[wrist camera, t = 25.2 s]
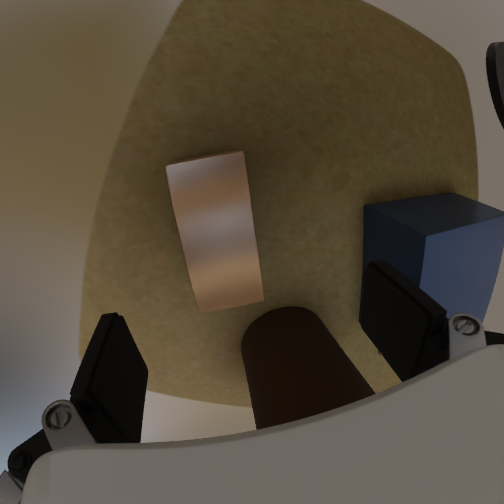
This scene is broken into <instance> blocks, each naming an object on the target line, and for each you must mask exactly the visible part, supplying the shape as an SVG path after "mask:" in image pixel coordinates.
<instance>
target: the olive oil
mask: <svg viewBox="0 0 504 504" xmlns="http://www.w3.org/2000/svg"><path fill="white" fill-rule="evenodd" d="M241 350H242V357H243V362H244V367H245V372H246V377H247V381H248V386H249V392H250V397H251V402H252V408H253V413H254V418H255V424H256V429H257V430H258V429H263V428H268V427H272V426H276V425H281V424H285V423H289V422H293V421H296V420H300V419H304V418H307V417H311V416H314V415H317V414H321V413H324V412H327V411H330V410H333V409H336V408H339V407H342V406H345V405H348V404H351V403H353V402H356V401H359V400H362V399H364V398H367V397H369V396H372V395H374V394H376V393H375V392H374V391H373V389H372V388H371V387H370V385H369V384H368V383H367V381H366V380H365V379H364V378H363V376H362V375H361V374H360V372H359V371H358V370H357V368H356V367H355V366H354V364H353V363H352V362H351V360H350V359H349V358H348V356H347V355H346V354H345V352H344V351H343V350H342V348H341V347H340V346H339V344H338V343H337V342H336V340H335V339H334V337H333V336H332V335H331V333H330V332H329V331H328V329H327V328H326V326H325V325H324V324H323V322H322V321H321V320H320V318H319V317H318V316H317V315H316V314H314V313H313V312H311V311H309V310H307V309H303V308H298V307H288V308H282V309H278V310H275V311H272V312H270V313H268V314H266V315H264V316H262V317H261V318H259V319H258V320H257V321H255V322H254V323H253V324H252V325H251V326H250V328H249V329H248V330H247V332H246V333H245V335H244V338H243V340H242V347H241Z"/></svg>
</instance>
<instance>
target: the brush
mask: <svg viewBox="0 0 504 504" xmlns="http://www.w3.org/2000/svg"><path fill="white" fill-rule="evenodd" d="M165 170H166V175H167V180H168V185H169V190H170V195H171V200H172V204H173V209H174V214H175V218H176V223H177V227H178V231H179V236H180V240H181V244H182V248H183V252H184V256H185V260H186V264H187V268H188V272H189V276H190V280H191V284H192V287H193V291H194V295H195V298H196V302H197V306H198V309H199V313H200V314H203V313H208V312H213V311H219V310H223V309H228V308H233V307H238V306H243V305H247V304H252V303H257V302H261V301H265V299H264V292H263V284H262V277H261V270H260V262H259V255H258V248H257V241H256V234H255V226H254V219H253V212H252V205H251V198H250V191H249V184H248V177H247V170H246V163H245V156H244V151H240V150H233V151H227V152H221V153H215V154H209V155H204V156H199V157H193V158H188V159H183V160H179V161H174V162H170V163H168V164H167V165H165Z"/></svg>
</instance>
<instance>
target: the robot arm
mask: <svg viewBox="0 0 504 504" xmlns="http://www.w3.org/2000/svg"><path fill="white" fill-rule="evenodd" d="M446 314H447V310H445V309H444V308H443V307H442V306H441V305H440V304H438V303H437V302H436V301H435V300H434V299H433V298H431V297H430V296H429V295H428V294H427V293H425V292H424V291H423V290H422V289H420V288H419V287H418V286H417V285H416V284H414V283H413V282H412V281H411V280H409V279H408V278H407V277H406V276H404V275H403V274H402V273H401V272H399V271H398V270H397V269H395V268H394V267H393V266H392V265H390V264H389V263H388V262H386V261H385V260H384V259H378V260H374V261H370V262H369V263H368V265H367V266H366V267H365V269H364V282H363V296H362V307H361V317H360V324H361V327H362V329H363V331H364V332H365V333H366V334H367V336H368V337H369V338H370V340H371V341H372V342H373V344H374V345H375V346H376V348H377V349H378V350H379V352H380V353H381V354H382V355H383V357H384V358H385V359H386V361H387V362H388V364H389V365H390V366H391V368H392V369H393V370H394V372H395V373H396V374H397V376H398V377H399V378H400V380H401V381H402V383H400V384H398V385H396V386H393V387H391V388H389V389H386V390H384V391H382V392H379V393H377V394H374V395H372V396H369V397H367V398H364V399H362V400H359V401H356V402H353V403H351V404H348V405H345V406H342V407H339V408H336V409H333V410H330V411H327V412H324V413H321V414H317V415H314V416H311V417H307V418H304V419H300V420H296V421H293V422H289V423H285V424H281V425H276V426H272V427H268V428H263V429H258V430H253V431H248V432H243V433H238V434H231V435H225V436H218V437H211V438H203V439H194V440H184V441H170V442H153V443H140V441H141V430H142V420H143V411H144V402H145V394H146V387H147V380H148V369H147V366H146V364H145V362H144V360H143V358H142V356H141V354H140V352H139V350H138V348H137V346H136V344H135V341H134V339H133V337H132V335H131V333H130V331H129V329H128V326H127V324H126V322H125V320H124V318H123V316H121V315H120V316H119V315H118V313H116V312H115V313H108V314H103V315H102V316H101V318H100V320H99V322H98V324H97V327H96V329H95V331H94V333H93V336H92V338H91V340H90V343H89V345H88V347H87V350H86V352H85V355H84V357H83V360H82V362H81V365H80V367H79V370H78V372H77V375H76V378H75V381H74V383H73V386H72V389H71V392H70V395H71V398H70V401H68V400H63V399H62V400H57V401H55V402H53V403H51V404H50V405H49V406H48V407H47V408H46V409H45V411H44V412H43V415H42V426H43V429H42V430H40V431H39V432H38V433H36V434H35V435H33V436H32V437H31V438H29V439H28V440H27V441H25V442H24V443H22V444H21V445H19V446H18V447H16V448H15V449H14V450H13V451H12V452H11V454H10V455H9V458H8V469H9V471H8V472H7V471H6V470H4V471H3V473H2V474H1V475H0V504H504V334H502V333H496V332H489V331H484V328H483V324H482V322H481V321H480V320H479V319H478V318H477V317H476V316H474V315H472V314H470V313H465V312H459V313H455V314H453V315H452V316H451V317H450V318H449V319H448V318H447V317H446Z"/></svg>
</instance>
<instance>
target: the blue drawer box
mask: <svg viewBox="0 0 504 504" xmlns="http://www.w3.org/2000/svg"><path fill="white" fill-rule="evenodd" d="M503 247H504V212H503V211H501V210H498V209H496V208H493V207H491V206H488V205H486V204H483V203H480V202H478V201H475V200H472V199H469V198H467V197H464V196H461V195H458V194H455V193H447V194H440V195H432V196H425V197H418V198H411V199H404V200H397V201H390V202H384V203H377V204H371V205H365V206H364V255H363V277H362V293H361V305H360V316H359V323H360V317H361V307H362V296H363V282H364V269H365V267H366V266H367V265H368V263H369V262H370V261H374V260H378V259H384V260H385V261H386V262H388V263H389V264H390V265H392V266H393V267H394V268H395V269H397V270H398V271H399V272H401V273H402V274H403V275H404V276H406V277H407V278H408V279H409V280H411V281H412V282H413V283H414V284H416V285H417V286H418V287H419V288H420V289H422V290H423V291H424V292H425V293H427V294H428V295H429V296H430V297H431V298H433V299H434V300H435V301H436V302H437V303H438V304H440V305H441V306H442V307H443V308H444V309H445V310H447V314H446V317H447V318H448V319H449V318H450V317H451V316H452V315H453V314H455V313H459V312H465V313H470V314H472V315H474V316H476V317H477V318H478V319H479V320H480V321H481V322H483V319H484V317H485V313H486V311H487V308H488V305H489V302H490V299H491V295H492V292H493V288H494V285H495V281H496V277H497V274H498V270H499V265H500V261H501V256H502V252H503Z"/></svg>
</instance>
